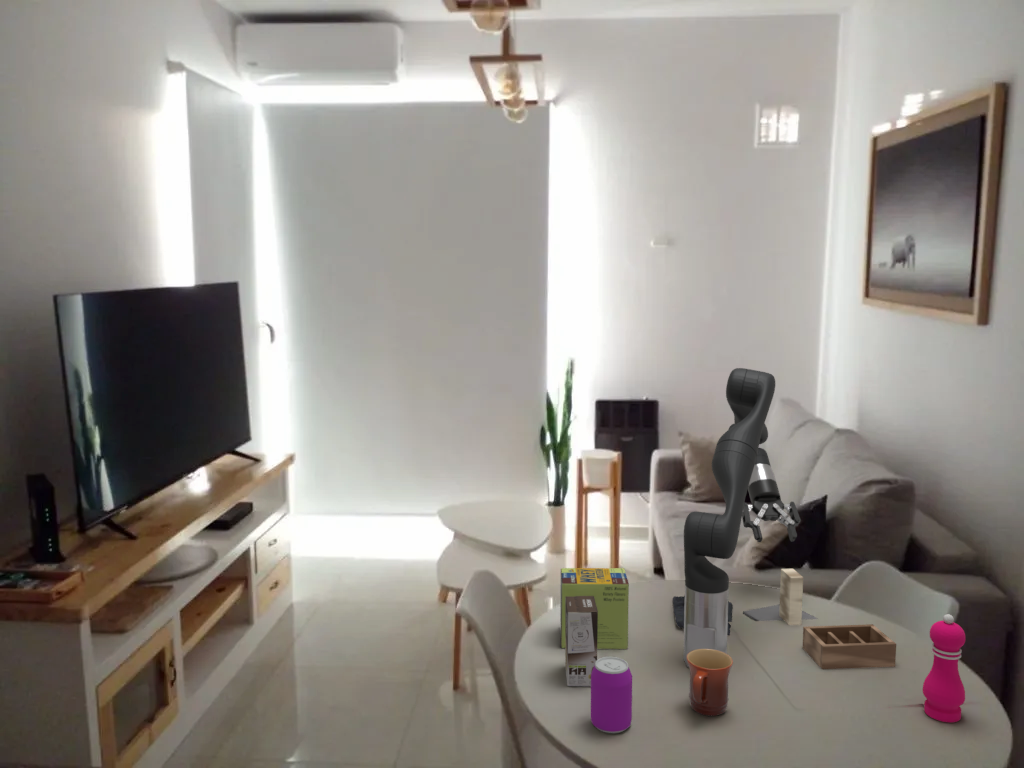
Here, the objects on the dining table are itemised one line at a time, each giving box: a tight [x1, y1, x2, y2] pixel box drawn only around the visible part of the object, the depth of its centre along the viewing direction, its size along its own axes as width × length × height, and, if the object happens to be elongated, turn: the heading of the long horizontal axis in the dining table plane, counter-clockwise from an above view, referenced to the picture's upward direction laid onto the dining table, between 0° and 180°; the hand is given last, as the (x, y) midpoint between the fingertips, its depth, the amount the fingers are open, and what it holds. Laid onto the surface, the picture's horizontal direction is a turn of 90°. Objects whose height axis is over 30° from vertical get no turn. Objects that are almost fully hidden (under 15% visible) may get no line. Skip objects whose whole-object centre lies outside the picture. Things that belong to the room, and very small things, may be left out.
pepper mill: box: [922, 613, 966, 724], centre depth 154 cm, size 7×7×20 cm
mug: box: [686, 649, 734, 717], centre depth 156 cm, size 12×9×10 cm
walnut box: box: [801, 623, 897, 670], centre depth 177 cm, size 10×16×6 cm, turn 94°
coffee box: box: [564, 596, 598, 687], centre depth 170 cm, size 9×6×16 cm
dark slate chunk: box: [672, 595, 734, 636], centre depth 201 cm, size 15×22×5 cm
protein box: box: [559, 567, 630, 650], centre depth 188 cm, size 10×15×16 cm
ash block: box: [779, 568, 804, 626], centre depth 196 cm, size 6×3×12 cm, turn 4°
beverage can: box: [590, 656, 633, 734], centre depth 152 cm, size 8×8×12 cm
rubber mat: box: [742, 603, 819, 622], centre depth 197 cm, size 18×14×1 cm
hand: (776, 540), depth 205 cm, fingers open, 8 cm apart
